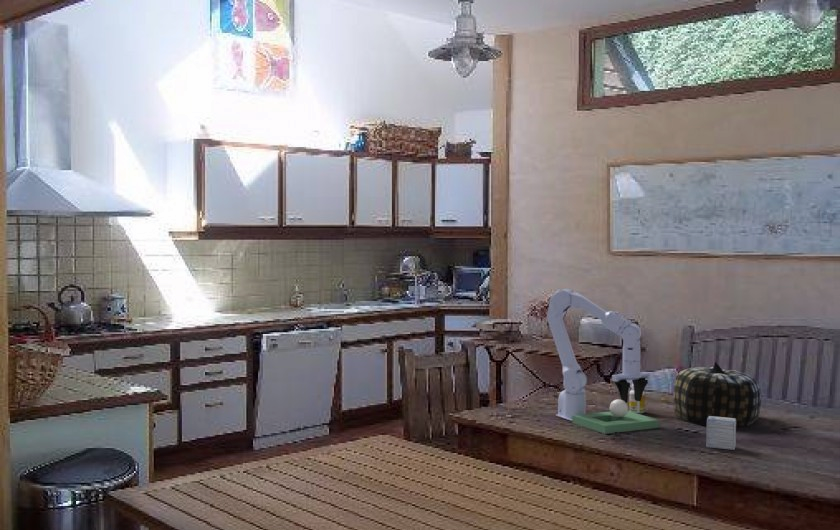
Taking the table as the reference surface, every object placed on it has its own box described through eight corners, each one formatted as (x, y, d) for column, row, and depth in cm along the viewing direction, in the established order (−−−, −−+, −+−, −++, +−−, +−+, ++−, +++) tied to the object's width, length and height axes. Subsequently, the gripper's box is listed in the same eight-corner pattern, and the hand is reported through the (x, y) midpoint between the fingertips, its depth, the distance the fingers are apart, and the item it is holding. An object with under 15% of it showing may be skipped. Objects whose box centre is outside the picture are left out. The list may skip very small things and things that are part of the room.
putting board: (572, 422, 282) (572, 415, 282) (624, 417, 292) (624, 410, 292) (604, 433, 267) (605, 425, 267) (659, 427, 277) (659, 420, 277)
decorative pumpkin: (779, 421, 288) (780, 363, 288) (725, 432, 272) (727, 369, 271) (705, 406, 313) (707, 352, 312) (652, 415, 296) (653, 358, 296)
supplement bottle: (643, 410, 304) (643, 383, 303) (645, 413, 298) (646, 386, 298) (628, 410, 304) (628, 383, 304) (630, 413, 299) (630, 385, 299)
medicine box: (735, 447, 252) (736, 418, 252) (734, 450, 248) (735, 421, 248) (707, 444, 255) (708, 415, 255) (706, 447, 251) (706, 418, 251)
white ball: (619, 415, 284) (605, 417, 281) (619, 397, 284) (605, 398, 281) (632, 418, 279) (618, 419, 276) (632, 399, 279) (618, 401, 276)
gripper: (621, 363, 275) (621, 405, 275) (656, 360, 281) (656, 401, 281) (607, 360, 281) (607, 401, 281) (642, 358, 287) (641, 398, 288)
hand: (631, 401), depth 282 cm, fingers open, 5 cm apart
